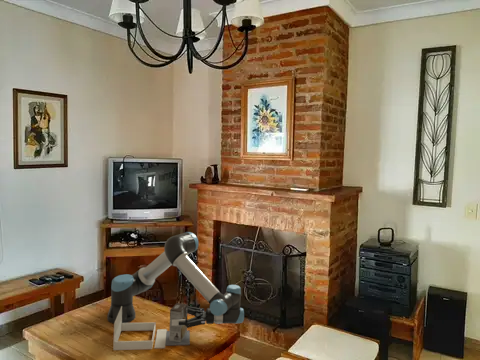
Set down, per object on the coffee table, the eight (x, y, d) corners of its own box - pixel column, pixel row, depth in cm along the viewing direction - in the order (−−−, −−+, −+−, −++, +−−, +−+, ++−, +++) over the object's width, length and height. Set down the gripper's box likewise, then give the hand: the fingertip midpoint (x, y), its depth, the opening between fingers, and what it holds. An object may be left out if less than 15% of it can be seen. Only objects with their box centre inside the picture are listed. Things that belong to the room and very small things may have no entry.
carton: (120, 330, 196) (121, 306, 196) (166, 329, 200) (167, 305, 199) (113, 350, 177) (114, 323, 176) (164, 348, 180) (165, 322, 179)
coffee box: (175, 332, 196) (176, 302, 195) (187, 334, 195) (188, 304, 194) (168, 340, 187) (169, 309, 186) (180, 342, 186) (182, 311, 185)
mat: (166, 332, 197) (166, 331, 197) (189, 331, 199) (189, 330, 199) (165, 345, 183) (165, 344, 183) (189, 344, 185) (189, 343, 185)
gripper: (215, 334, 181) (171, 335, 178) (211, 312, 205) (172, 313, 202) (216, 319, 180) (171, 320, 177) (212, 299, 205) (173, 299, 202)
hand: (172, 316), depth 190 cm, fingers open, 13 cm apart
